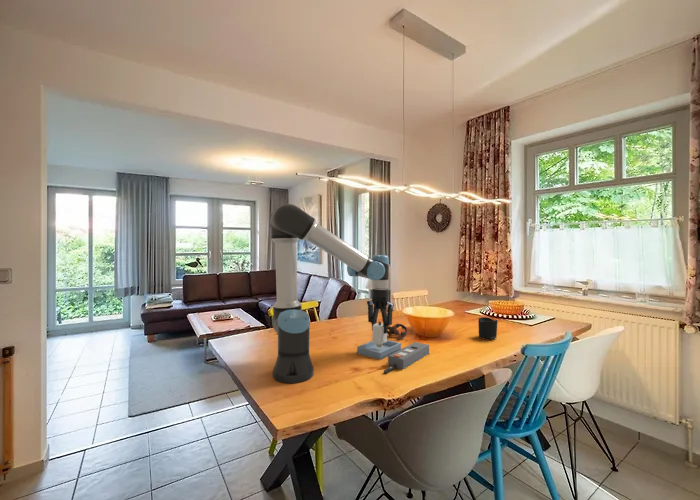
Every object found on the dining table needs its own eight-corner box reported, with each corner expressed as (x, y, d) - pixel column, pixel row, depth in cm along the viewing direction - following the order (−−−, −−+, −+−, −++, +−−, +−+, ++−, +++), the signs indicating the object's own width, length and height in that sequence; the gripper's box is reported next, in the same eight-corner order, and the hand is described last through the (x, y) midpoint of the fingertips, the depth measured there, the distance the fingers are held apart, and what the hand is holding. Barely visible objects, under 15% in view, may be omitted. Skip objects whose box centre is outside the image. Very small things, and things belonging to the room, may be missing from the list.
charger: (379, 349, 143) (379, 323, 142) (372, 347, 145) (372, 322, 145) (386, 346, 147) (387, 321, 147) (379, 344, 150) (379, 319, 150)
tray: (380, 359, 135) (380, 352, 135) (357, 353, 143) (357, 346, 143) (400, 349, 149) (401, 343, 149) (378, 344, 157) (378, 338, 157)
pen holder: (478, 339, 167) (479, 320, 167) (477, 334, 176) (477, 316, 176) (498, 341, 164) (498, 322, 164) (495, 336, 173) (496, 318, 173)
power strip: (392, 376, 119) (392, 364, 119) (376, 371, 123) (377, 359, 123) (429, 353, 144) (429, 343, 144) (415, 350, 148) (415, 340, 148)
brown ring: (402, 335, 175) (407, 324, 171) (404, 347, 167) (409, 336, 163) (381, 329, 174) (386, 318, 170) (382, 342, 166) (387, 330, 162)
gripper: (400, 289, 143) (399, 340, 144) (369, 286, 154) (369, 333, 154) (392, 291, 138) (391, 344, 138) (360, 287, 148) (359, 337, 149)
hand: (379, 338), depth 146 cm, fingers closed on charger, 4 cm apart
